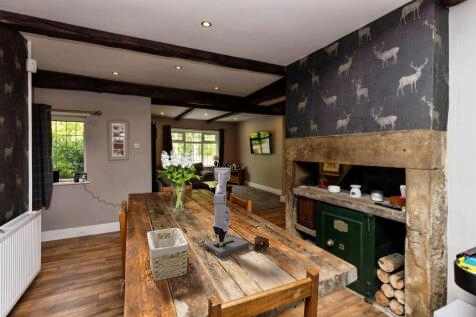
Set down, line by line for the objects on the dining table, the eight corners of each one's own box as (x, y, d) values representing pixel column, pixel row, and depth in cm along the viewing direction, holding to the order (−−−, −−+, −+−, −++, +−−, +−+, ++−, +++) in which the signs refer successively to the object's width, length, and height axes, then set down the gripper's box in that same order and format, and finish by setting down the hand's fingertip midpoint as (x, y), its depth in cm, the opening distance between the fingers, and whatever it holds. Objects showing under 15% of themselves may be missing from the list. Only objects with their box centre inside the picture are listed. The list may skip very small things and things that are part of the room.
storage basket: (189, 276, 105) (189, 243, 104) (150, 284, 98) (150, 250, 98) (179, 253, 127) (179, 226, 126) (146, 259, 120) (146, 231, 119)
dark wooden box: (248, 249, 134) (252, 234, 137) (261, 253, 138) (265, 239, 141) (260, 251, 124) (264, 235, 127) (274, 256, 127) (277, 241, 130)
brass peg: (215, 249, 131) (215, 233, 130) (222, 247, 133) (222, 232, 132) (219, 252, 127) (218, 236, 126) (226, 250, 129) (226, 234, 129)
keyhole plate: (219, 259, 121) (219, 252, 121) (204, 249, 132) (204, 243, 131) (248, 248, 134) (248, 242, 133) (233, 240, 144) (233, 235, 144)
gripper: (232, 218, 124) (232, 243, 125) (220, 211, 137) (220, 234, 138) (220, 220, 121) (220, 246, 121) (209, 213, 133) (209, 237, 134)
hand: (219, 240), depth 129 cm, fingers closed on brass peg, 3 cm apart
